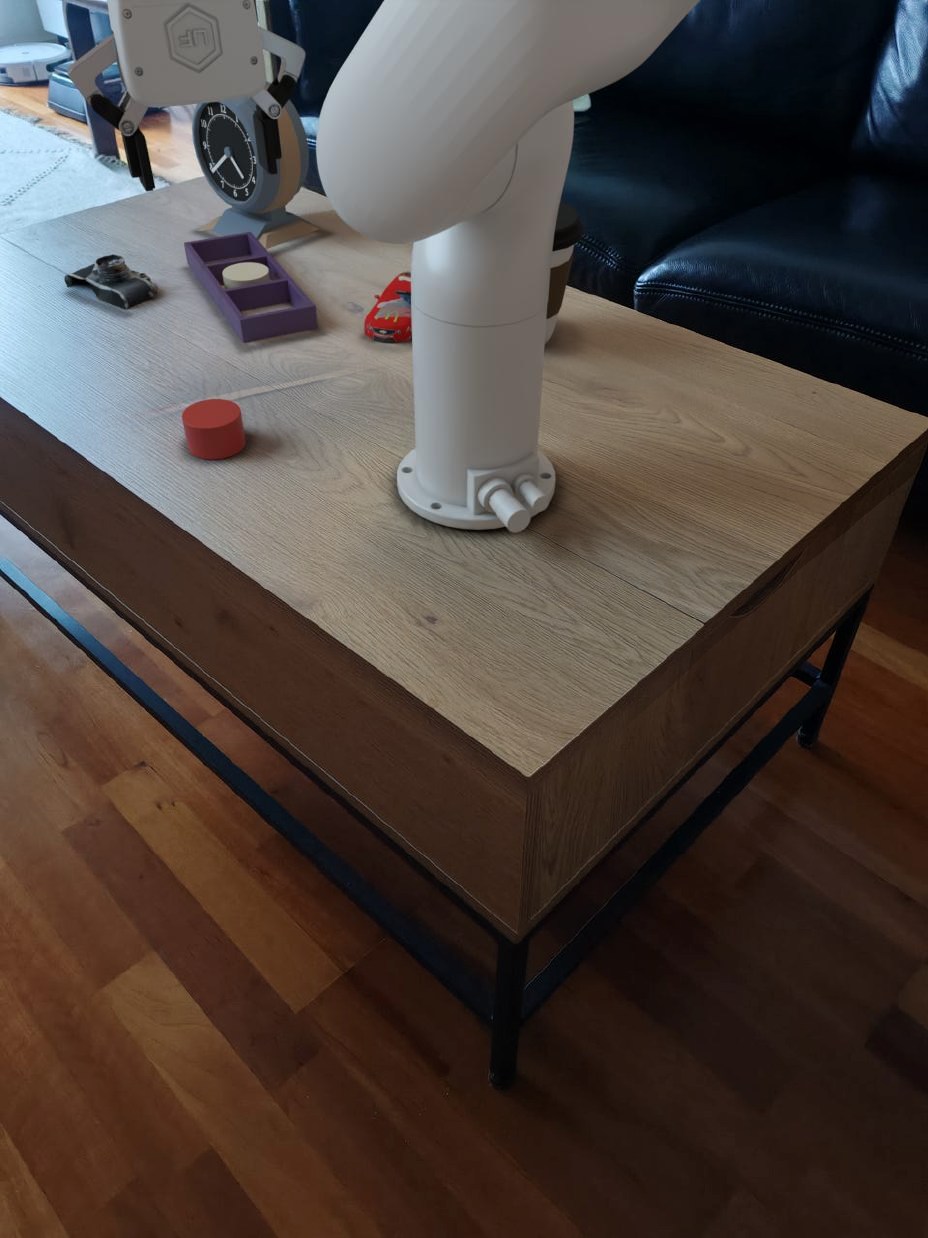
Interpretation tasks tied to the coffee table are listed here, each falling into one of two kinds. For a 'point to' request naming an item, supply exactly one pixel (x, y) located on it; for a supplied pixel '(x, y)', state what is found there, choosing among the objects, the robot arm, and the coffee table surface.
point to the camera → (115, 282)
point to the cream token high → (245, 274)
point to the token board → (250, 288)
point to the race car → (392, 313)
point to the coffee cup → (561, 260)
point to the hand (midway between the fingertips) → (209, 177)
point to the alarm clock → (251, 170)
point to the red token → (214, 429)
